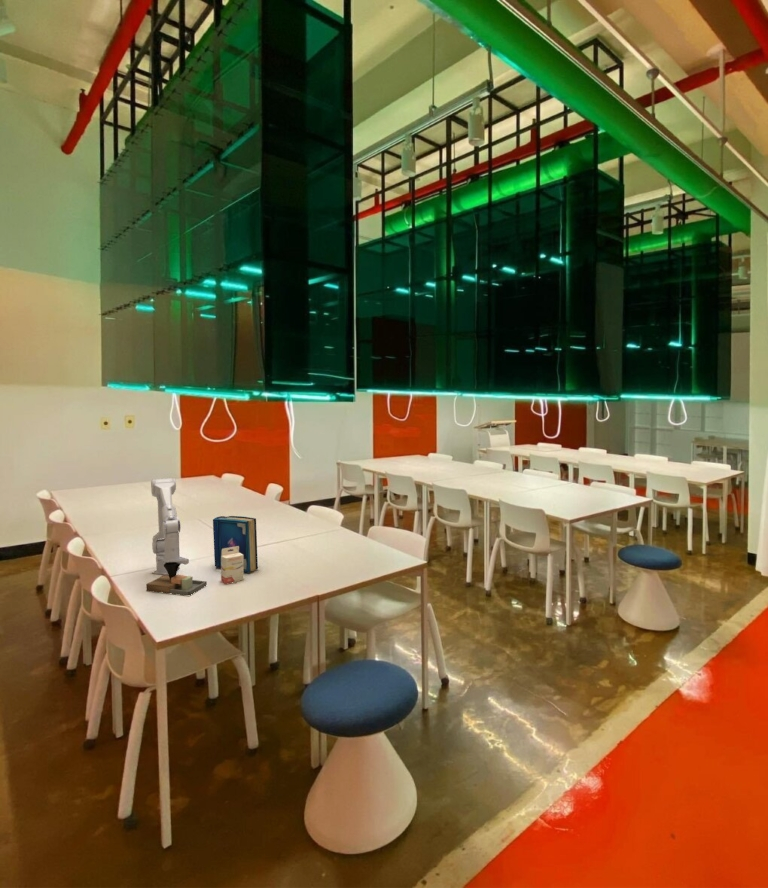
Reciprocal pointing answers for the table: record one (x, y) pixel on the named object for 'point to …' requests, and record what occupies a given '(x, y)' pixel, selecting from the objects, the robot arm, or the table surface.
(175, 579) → the tile
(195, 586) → the tray
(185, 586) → the tile
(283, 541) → the table surface
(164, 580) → the plate
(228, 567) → the ink cartridge box
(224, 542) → the book
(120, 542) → the table surface
